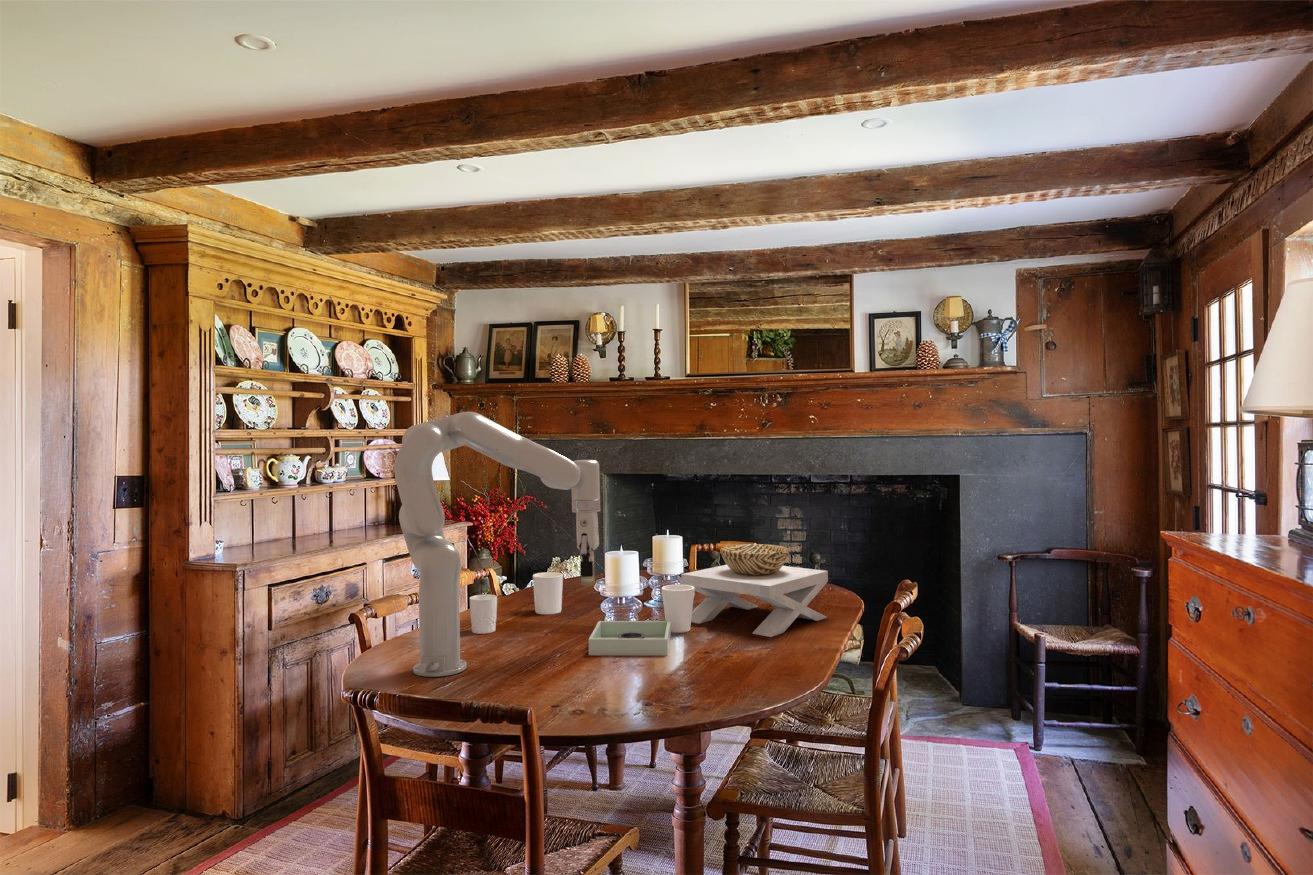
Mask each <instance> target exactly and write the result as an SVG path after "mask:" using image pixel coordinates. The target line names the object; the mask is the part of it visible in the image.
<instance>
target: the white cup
mask: <svg viewBox="0 0 1313 875" xmlns="http://www.w3.org/2000/svg"><path fill="white" fill-rule="evenodd" d="M497 608H498V595H495V594H490V593H489V594H486V593H485V594H476V595H472V596H470V597H469V611H470V623H471V632H472V634H478V635H479V634H480V635H482V634H484V635H485V634H491V633H494V632H496V628H497V627H496V626H497V624H496V623H497V613H498V612H497V611H498V609H497Z"/></svg>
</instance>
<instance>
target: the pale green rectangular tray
mask: <svg viewBox="0 0 1313 875" xmlns="http://www.w3.org/2000/svg"><path fill="white" fill-rule="evenodd" d="M627 632H638V633H643V634H645V639H618V635H619V634H622V633H627ZM671 636H672V632H671V622H670V621H666V620H660V621H659V620H599V621H597V623H596V625H595V626H594V628H593V631H592V633H591V634H590V636H589V638H588V656H668V655H669V649H670V643H671Z"/></svg>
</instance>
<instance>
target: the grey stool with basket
mask: <svg viewBox="0 0 1313 875" xmlns="http://www.w3.org/2000/svg"><path fill="white" fill-rule="evenodd" d="M720 553H721V557H722V559H723V561H724V563H725V564H723V565H718V566H715V567H709V568H704V569H700V570H695V571H690V572H684V573H681V585H690V586H693V587H695V592H697V593H699V594H702V595H703V596H706V597H705V599H704V600H703V601H701V603H699V604H698V605H697V606H696V607H695V608H694V609H692V617H691V623H694V624H699V625H700V624H702V623H706V622H710V621H713V620H714V619H715V618H716V617H717V616H718V615H719V613H721V612H722V611H723V610H724V608H726V607H727V606H728V607H731V608H736V609H741V610H751V609H754V608H758V607H759V605H756V604H755V603H752V602H751V601H748V600H746V599H744V598H742V597H739V596H738V595H739V594H740V595H741V594H742V595H748V596H752V597H754V598H757V599H758V600H760V601H762V602H765V603H767V604H769V605H771V606H773V607H775V608H774V609H773V610H772V611H771V612H770V613H769V614H768V615H767V616H766V617H765V619H764V620H762V622H761V623H760V624H759V625H758V626H757V628H755V630H754V631H753V632H752V634H753V635H758V636H764V637H769V638H772V637H775V636H778V635H781V634H783V633H785V631H787V630H788V628H789V627H790V626H791V625H792V624H793V623H794V621H795V620H796V619H797V618H798V619H803V620H807V621H808V620H809V621H815V622H818V621H820V620H821V621H822V620H824V619H827V618H828V616H826V615H825V614H822V613H820V612H818V611H816V610H814V609H812V608H810V607H809V606H808V605H809V604H810V603H811V602H812V600H813V599H814V598H815V597H816V596H817V595H818V594H819V593H820V592H821V590H822V589H823V588H824V586H825V585H827V583H828V582H829V571H828V570H823V569H815V568H814V569H813V568H805V567H804V568H803V567H796V566H795V567H794V566H787V565H784V564H785V563H786V561H787V559H788V558H789V554H790V550H789V548H787V547H786V546H781V545H778V544H777V545H776V544H761V543H758V544H757V543H749V544H748V543H747V544H746V543H745V544H733V545H727V546H724V547H722V548H721V549H720ZM785 594H786V595H785Z"/></svg>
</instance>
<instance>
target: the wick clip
mask: <svg viewBox="0 0 1313 875" xmlns="http://www.w3.org/2000/svg"><path fill="white" fill-rule="evenodd" d="M618 639H645V634H643V633H638V632H627V633H622V634H619V635H618Z"/></svg>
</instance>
